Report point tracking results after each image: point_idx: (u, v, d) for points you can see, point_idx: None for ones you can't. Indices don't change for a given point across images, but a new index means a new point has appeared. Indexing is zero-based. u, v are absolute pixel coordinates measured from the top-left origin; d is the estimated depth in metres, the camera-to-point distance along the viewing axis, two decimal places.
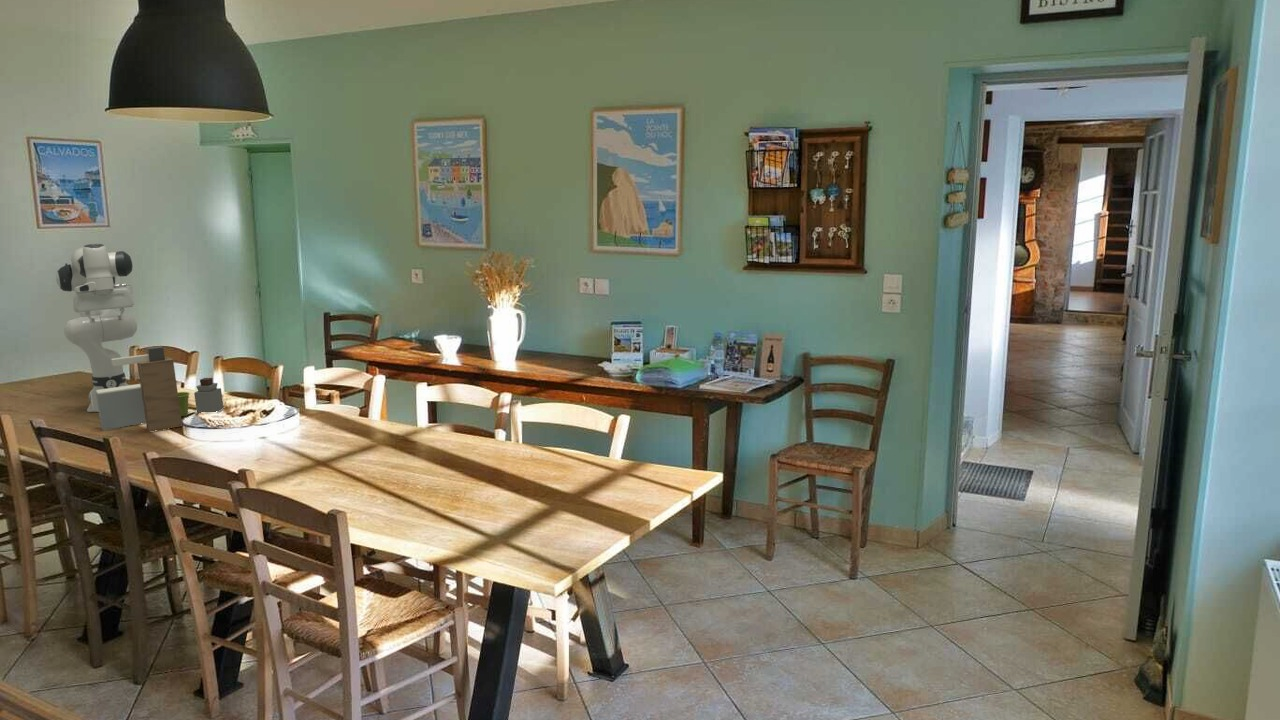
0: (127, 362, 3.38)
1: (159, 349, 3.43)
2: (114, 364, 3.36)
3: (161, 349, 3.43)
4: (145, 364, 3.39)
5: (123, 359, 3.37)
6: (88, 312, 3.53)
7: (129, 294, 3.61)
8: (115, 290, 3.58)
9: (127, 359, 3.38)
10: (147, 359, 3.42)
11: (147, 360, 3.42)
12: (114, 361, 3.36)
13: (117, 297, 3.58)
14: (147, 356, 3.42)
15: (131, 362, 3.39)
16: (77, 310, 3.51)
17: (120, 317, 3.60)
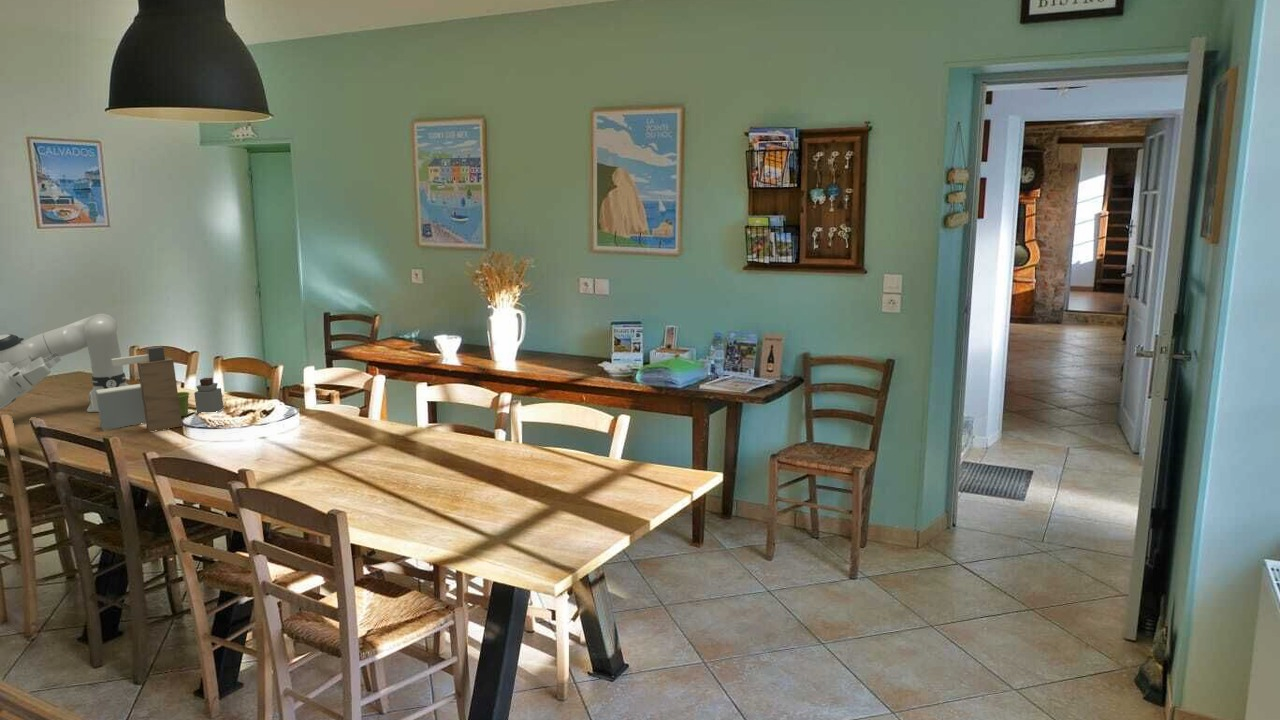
0: (127, 362, 3.38)
1: (159, 349, 3.43)
2: (114, 364, 3.36)
3: (161, 349, 3.43)
4: (145, 364, 3.39)
5: (123, 359, 3.37)
6: (46, 363, 3.20)
7: (28, 364, 3.29)
8: None
9: (127, 359, 3.38)
10: (147, 359, 3.42)
11: (147, 360, 3.42)
12: (114, 361, 3.36)
13: (30, 365, 3.26)
14: (147, 356, 3.42)
15: (131, 362, 3.39)
16: (42, 364, 3.16)
17: (53, 353, 3.30)
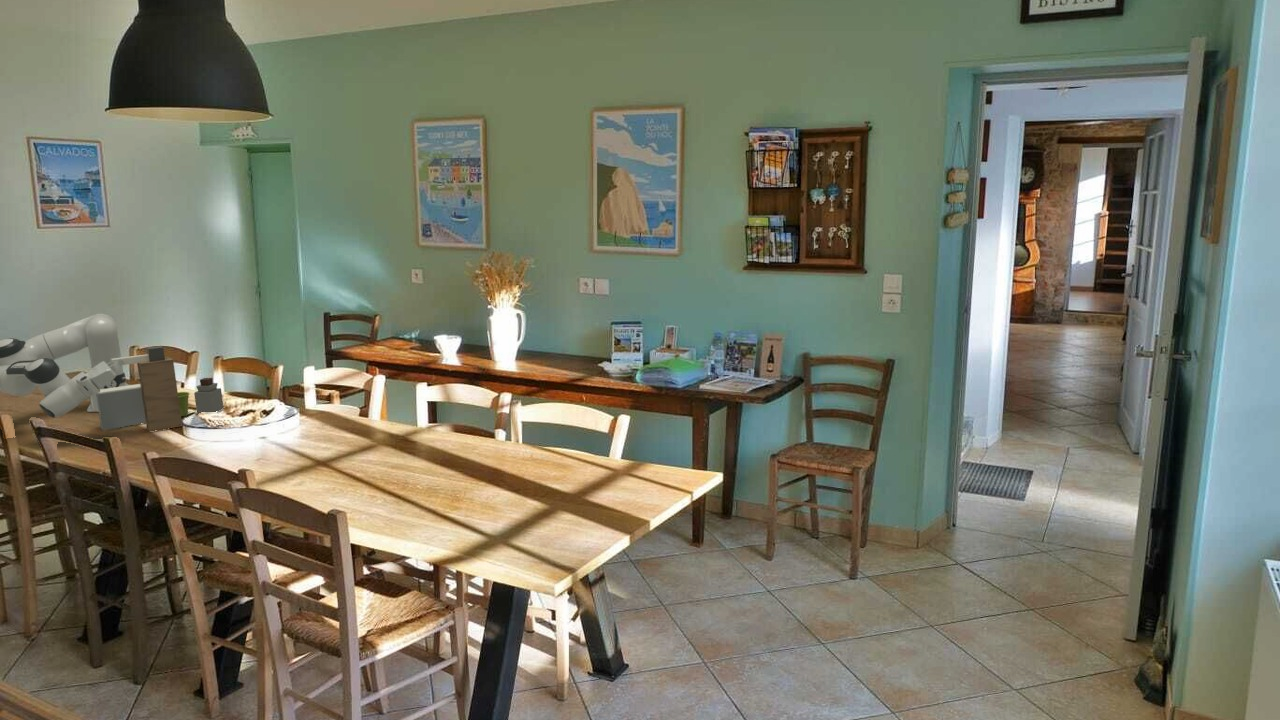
0: (127, 362, 3.38)
1: (159, 349, 3.43)
2: None
3: (161, 349, 3.43)
4: (145, 364, 3.39)
5: (123, 359, 3.37)
6: (110, 366, 3.34)
7: None
8: None
9: (127, 359, 3.38)
10: (147, 359, 3.42)
11: (147, 360, 3.42)
12: (114, 361, 3.36)
13: (95, 369, 3.38)
14: (147, 356, 3.42)
15: (131, 362, 3.39)
16: (108, 369, 3.28)
17: None
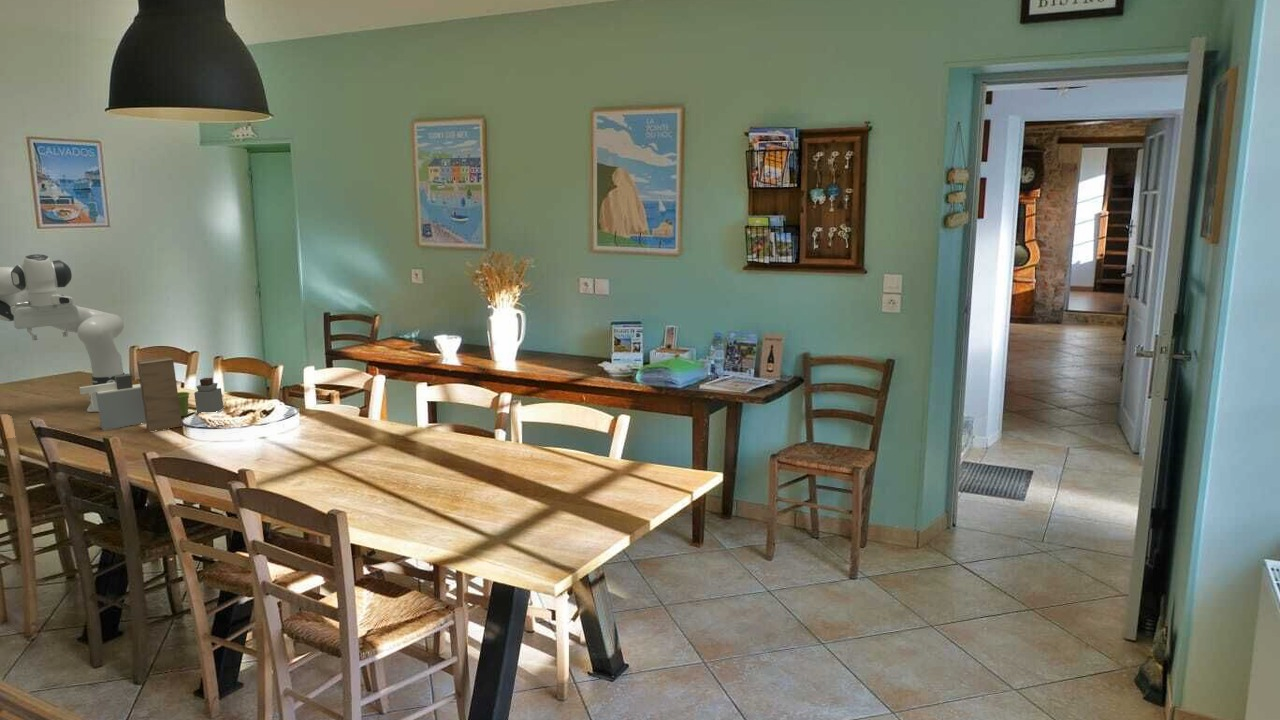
0: (95, 390, 3.47)
1: (127, 377, 3.52)
2: (82, 392, 3.45)
3: (129, 377, 3.52)
4: (145, 364, 3.39)
5: (91, 387, 3.46)
6: None
7: None
8: None
9: (95, 387, 3.47)
10: (115, 387, 3.51)
11: (115, 388, 3.51)
12: (82, 389, 3.45)
13: None
14: (115, 384, 3.51)
15: (99, 390, 3.48)
16: None
17: None
